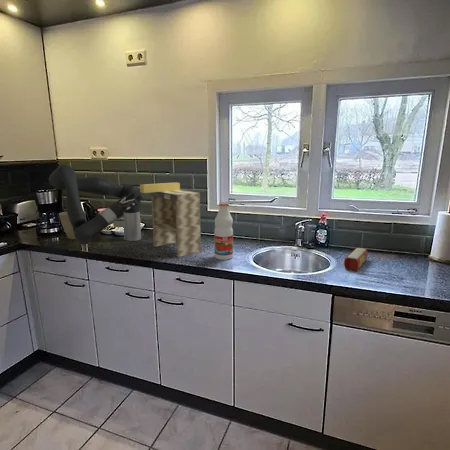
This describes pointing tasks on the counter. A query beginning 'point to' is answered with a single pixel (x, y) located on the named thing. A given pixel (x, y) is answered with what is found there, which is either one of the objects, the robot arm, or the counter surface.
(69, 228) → the plant pot
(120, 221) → the food container
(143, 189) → the spaghetti box
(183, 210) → the beige zigzag patterned stand
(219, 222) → the fruit juice
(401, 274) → the counter surface
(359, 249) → the snack package
